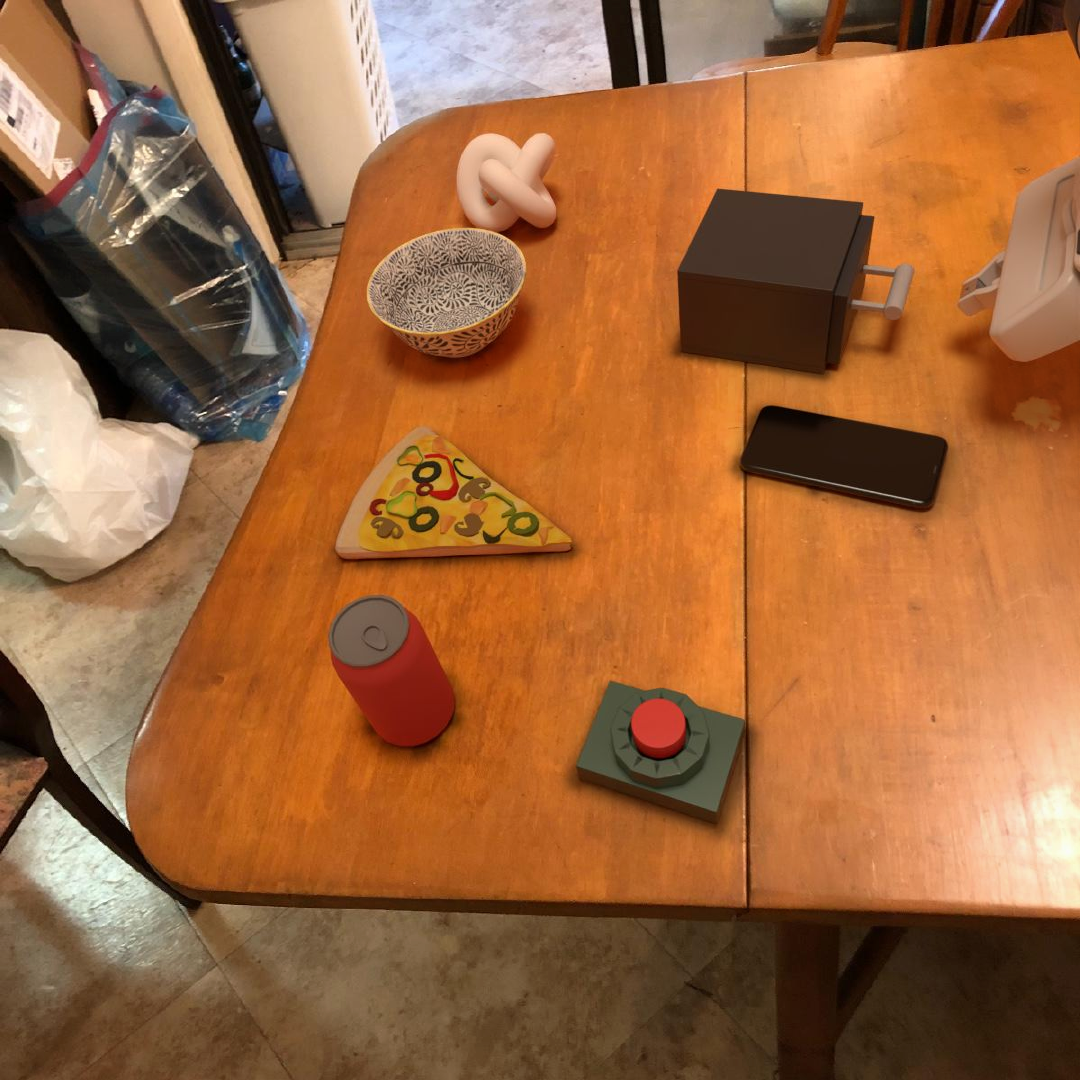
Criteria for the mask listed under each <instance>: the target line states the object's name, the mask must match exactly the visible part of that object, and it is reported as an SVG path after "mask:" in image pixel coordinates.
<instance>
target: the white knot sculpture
mask: <svg viewBox="0 0 1080 1080" xmlns="http://www.w3.org/2000/svg"><path fill="white" fill-rule="evenodd" d="M555 156H556V142H555V141H554V139H553V138H552V136H551V135H549V134H547V133H546V132H542V133H541V132H539V133H535V134H534V135H532V136H531V137H530V138H528V139H527V141H525V143H524V144H523V146H522V147H521V148H520V147H519V145H518V144H517V143H515V142H514V141H513V140H512V139H510V138H508V137H506V136H504V135H502V134H499V133H498V134H497V133H492V132H491V133H483V134H480V135H478V136H476V137H475V138H473V139H472V140H471V141H470V142H469V143H468V144H467V145H466V147H465V148H464V150H463V151H462V152H461V156H460V159H459V161H458V164H457V170H456V191H457V196H458V200H459V201H458V202H459V203H460V207H461V209H462V211H463V213H464V215H465V217H466V218H467V219H468V221H469V222H470V223H471V224H472V225H473V226H474V228H477V229H484V230H488V231H492V232H495V233H500V232H505V231H506V230H509V228H511V227H513V225H514V224H515V223H516V222H517V220H518V219H519V218H521V219H522V220H524V221H526V223H529V224H531V225H532V226H534V227H535V228H537V229H546V228H549V227H550V226H551V225H552V224H554V223H555V220H556V218H557V206H556V204H555V202H554V199H553V197H552V196H551V194H550V192H549V190H548V189H547V188H546V186H545V184H544V182H543V181H542V180H543V179H544V178H545V176H546V174H547V173H548V171H549V169H550V167H551V165H552V164H553V161H554V159H555ZM484 192H485V193H486V195H487V196H488V198H490V199H491V200H492V201H493V202H494V203H495V204H493V205H491V204H490V203H489V202H488V200H487V198H486V196H485V193H484Z"/></svg>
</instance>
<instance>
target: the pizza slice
mask: <svg viewBox="0 0 1080 1080" xmlns="http://www.w3.org/2000/svg"><path fill="white" fill-rule="evenodd" d="M572 544H573V541H572V538H571V537H570V536H569V535H568V534H566V533H565V532H564V531H563V530H561V529H560V528H558V527H557V525H555V524H554V523H552V522H551V520H549V519H548V518H547V517H546V516H544V515H543V514H542V513H540V511H538V510H536V509H535V508H534V507H532V505H530V504H529V503H528V502H527V501H524V500H523V499H521V498H519V497H518V496H516V495H515V494H513V493H511V492H510V491H509V490H508V489H507V488H505V487H504V486H502V485H501V484H499V483H498V482H497V481H495V480H494V479H492V478H491V477H490V476H489V475H487V474H486V473H484V472H483V470H481V469H480V468H479V467H478V466H477V465H476V464H475V463H474V462H473V461H472V460H470V459H469V457H467V456H466V455H465V453H463V452H462V451H461V449H459V448H457V446H455V445H454V444H453V443H452V442H450V441H449V440H447V439H445V437H444V436H443V435H439V434H437V433H435V431H434V430H433V429H431V428H430V427H429V426H426V425H420V426H417V427H415V428H414V429H413V430H412V431H409V433H407V435H406V436H404V437H403V438H402V439H401V440H400V441H399V442H398V443H396V444H395V445H394V446H393V448H392V449H390V451H388V452H387V454H385V455H384V456H383V457H382V459H381V460H380V461H379V463H377V465H376V466H375V467H374V468H373V469H372V471H371V472H370V474H368V475H367V478H366V479H365V480H364V481H363V483H362V484H361V486H360V487H359V489H358V490H357V493H356V494H355V496H354V497H353V499H352V501H351V504H350V505H349V508H348V511H347V513H346V515H345V518H344V520H343V522H342V524H341V526H340V529H339V532H338V535H337V537H336V541H335V548H334V549H335V552H336V554H337V555H338V556H339V557H340V558H342V559H345V560H359V559H388V558H389V559H390V558H393V559H394V558H422V557H424V558H425V557H427V558H429V557H447V556H450V557H451V556H469V555H470V556H472V555H473V556H475V555H477V556H479V555H481V556H483V555H503V554H521V553H523V554H524V553H546V552H550V553H551V552H557V553H559V552H567V551H570V550H571V549H572V547H571V545H572Z"/></svg>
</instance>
